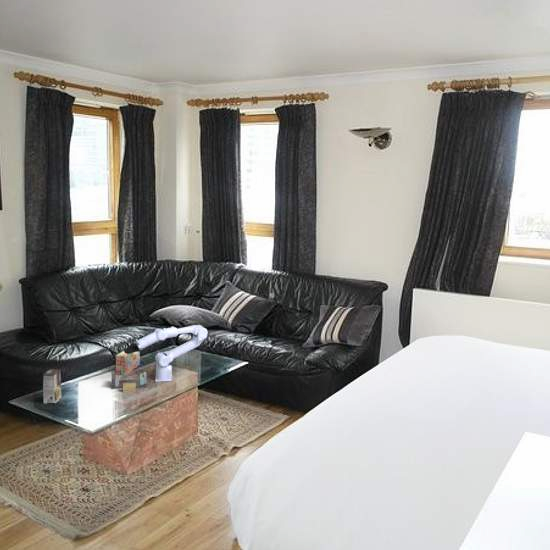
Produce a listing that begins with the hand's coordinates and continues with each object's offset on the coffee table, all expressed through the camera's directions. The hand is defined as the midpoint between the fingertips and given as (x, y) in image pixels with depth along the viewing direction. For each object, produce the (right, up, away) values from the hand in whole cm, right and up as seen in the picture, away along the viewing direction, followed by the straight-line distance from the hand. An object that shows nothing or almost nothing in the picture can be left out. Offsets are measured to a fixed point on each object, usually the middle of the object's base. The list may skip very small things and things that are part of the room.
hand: (125, 352), depth 345 cm
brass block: (+5, -21, -9) cm, 23 cm away
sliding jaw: (+10, -18, +3) cm, 21 cm away
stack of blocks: (-6, -15, +29) cm, 34 cm away
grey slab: (+2, -19, +2) cm, 19 cm away
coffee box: (-32, -23, -28) cm, 48 cm away
